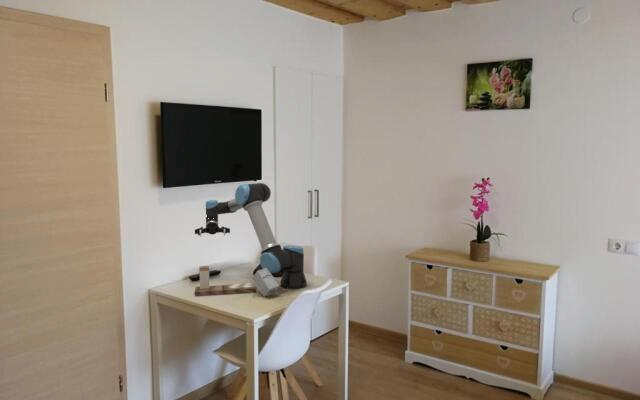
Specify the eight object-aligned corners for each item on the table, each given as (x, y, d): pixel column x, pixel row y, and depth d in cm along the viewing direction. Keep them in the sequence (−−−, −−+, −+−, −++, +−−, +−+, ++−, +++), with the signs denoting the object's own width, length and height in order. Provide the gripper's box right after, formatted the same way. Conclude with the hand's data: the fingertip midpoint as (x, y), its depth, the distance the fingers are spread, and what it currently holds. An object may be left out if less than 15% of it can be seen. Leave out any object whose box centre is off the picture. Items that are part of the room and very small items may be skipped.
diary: (252, 277, 313) (252, 269, 313) (261, 267, 338) (261, 260, 337) (282, 277, 312) (282, 269, 311) (289, 267, 336) (288, 260, 336)
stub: (209, 287, 280) (209, 266, 278) (209, 288, 277) (209, 267, 276) (200, 287, 279) (199, 266, 277) (199, 289, 276) (199, 267, 275)
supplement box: (269, 289, 267) (256, 270, 272) (263, 297, 272) (251, 278, 276) (279, 285, 273) (267, 267, 277) (274, 293, 277) (261, 275, 282)
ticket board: (255, 287, 289) (255, 282, 289) (256, 292, 279) (256, 287, 279) (195, 291, 282) (195, 285, 282) (195, 296, 272) (194, 290, 272)
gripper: (232, 232, 315) (234, 239, 294) (191, 234, 309) (190, 240, 289) (232, 220, 314) (234, 226, 293) (191, 222, 309) (189, 227, 288)
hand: (212, 233), depth 291 cm, fingers open, 13 cm apart
